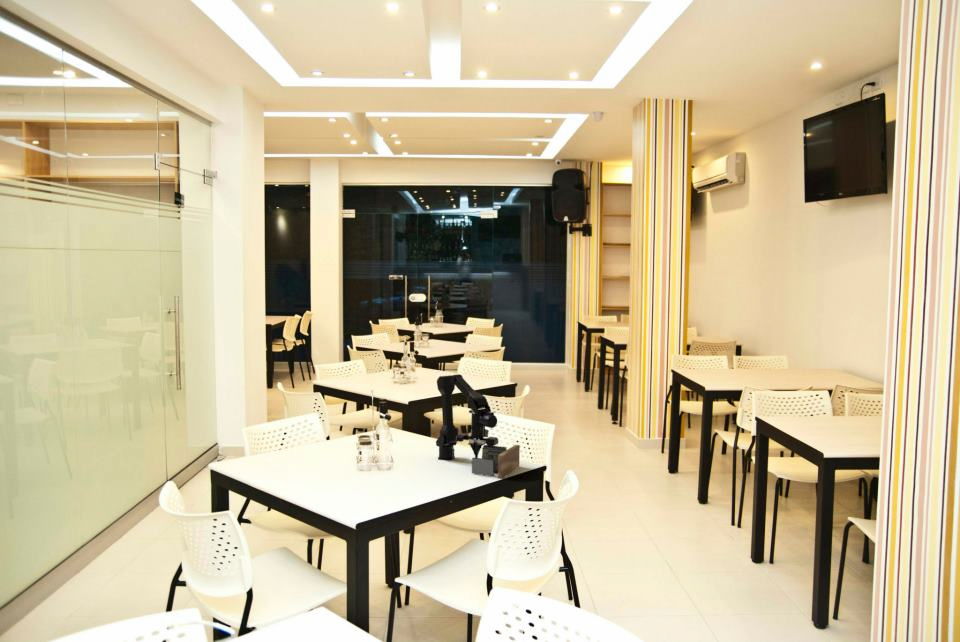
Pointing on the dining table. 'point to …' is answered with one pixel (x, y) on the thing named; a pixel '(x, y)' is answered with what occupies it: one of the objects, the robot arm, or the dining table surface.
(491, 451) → the small box
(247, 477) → the dining table surface
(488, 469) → the bookend
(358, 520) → the dining table surface
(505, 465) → the shelf panel
